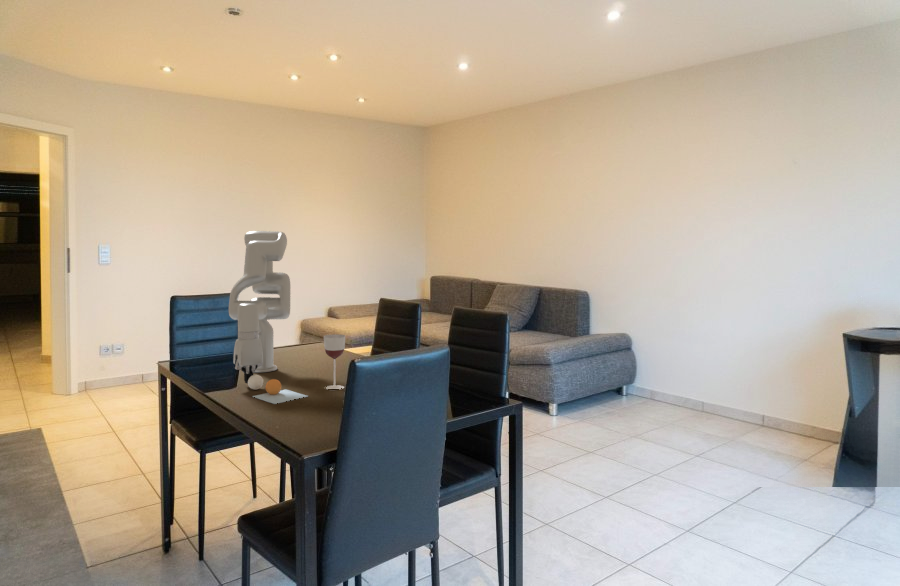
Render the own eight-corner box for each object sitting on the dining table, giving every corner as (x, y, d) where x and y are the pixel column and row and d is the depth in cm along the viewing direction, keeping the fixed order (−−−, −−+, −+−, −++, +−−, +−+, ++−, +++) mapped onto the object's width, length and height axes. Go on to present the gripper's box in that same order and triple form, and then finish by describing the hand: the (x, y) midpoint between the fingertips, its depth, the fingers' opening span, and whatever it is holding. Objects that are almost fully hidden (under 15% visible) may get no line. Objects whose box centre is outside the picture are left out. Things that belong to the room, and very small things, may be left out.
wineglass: (349, 386, 226) (349, 335, 224) (337, 391, 218) (338, 338, 216) (331, 384, 228) (331, 333, 227) (319, 389, 220) (319, 337, 219)
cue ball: (250, 375, 214) (253, 389, 213) (263, 372, 218) (267, 386, 217) (243, 377, 218) (247, 392, 217) (257, 374, 222) (261, 388, 221)
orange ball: (264, 377, 209) (272, 386, 206) (277, 375, 213) (285, 383, 210) (261, 390, 211) (268, 399, 208) (274, 387, 215) (282, 396, 212)
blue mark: (252, 396, 207) (252, 396, 207) (285, 389, 218) (285, 389, 218) (274, 404, 198) (274, 403, 198) (308, 396, 209) (308, 396, 209)
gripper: (260, 332, 228) (260, 378, 230) (224, 336, 217) (225, 384, 218) (271, 334, 223) (271, 381, 225) (235, 338, 212) (236, 388, 213)
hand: (248, 382), depth 221 cm, fingers closed
